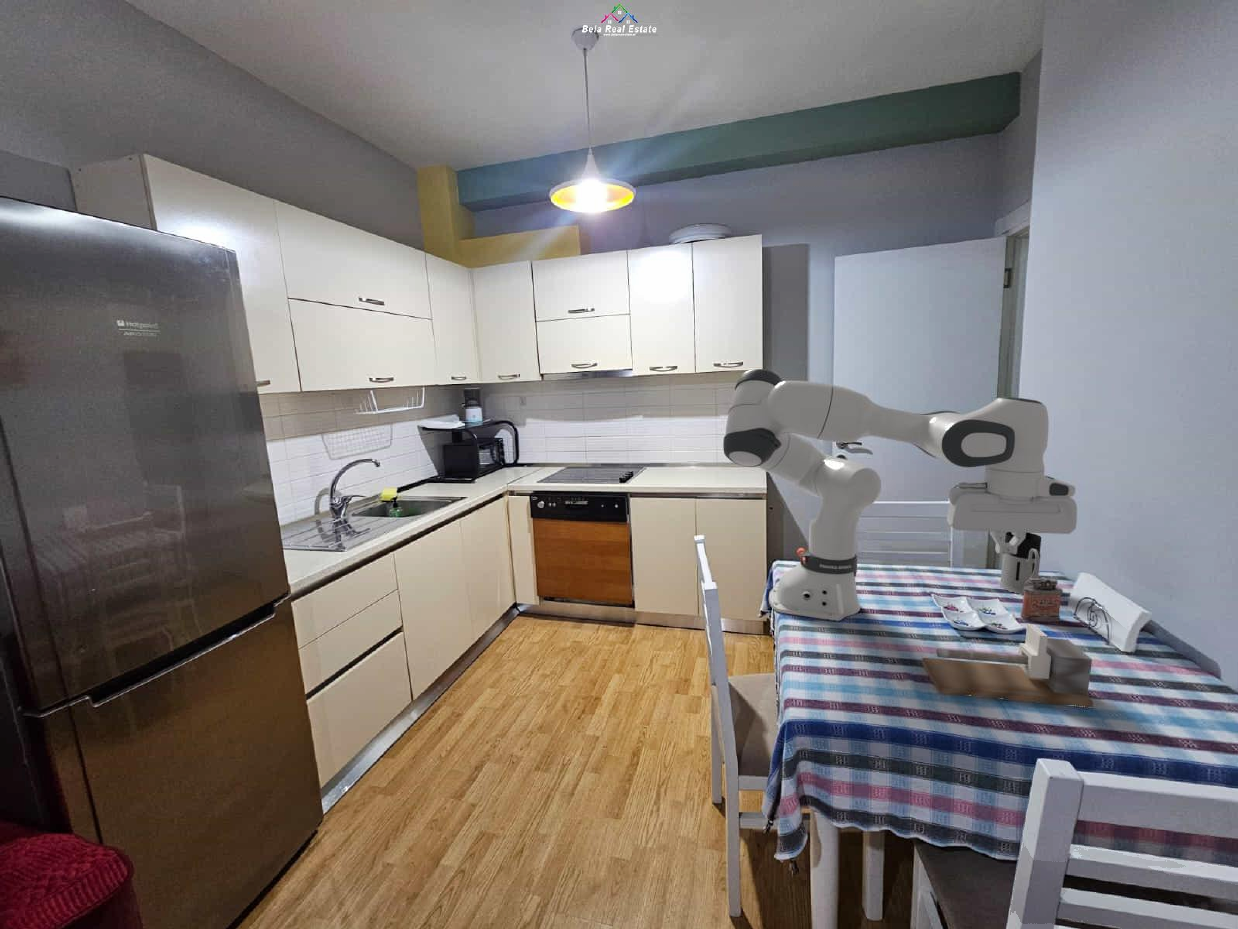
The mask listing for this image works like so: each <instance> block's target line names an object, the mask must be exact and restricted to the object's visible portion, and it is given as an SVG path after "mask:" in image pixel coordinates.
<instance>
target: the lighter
mask: <svg viewBox="0 0 1238 929" xmlns="http://www.w3.org/2000/svg"><path fill="white" fill-rule="evenodd" d="M1058 582H1059V581H1058V580H1057V579H1054V578H1047V577H1044V576H1042V577H1040V578H1039V577H1038V578H1030V579H1028V584H1030V585H1033V586H1024V587H1023V591H1024V595H1022V597H1023V598H1022V608H1021V612H1020V618H1021V619H1023V620H1025V621H1033V622H1035V621H1036V622H1055V621H1059V620H1060V619H1061V618H1060V617H1061V616H1060V610H1061V609H1060V608H1061V598H1062V594H1063V589H1062V588H1061V587H1059V586H1058Z"/></svg>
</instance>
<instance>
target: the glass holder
mask: <svg viewBox="0 0 1238 929" xmlns="http://www.w3.org/2000/svg"><path fill="white" fill-rule="evenodd" d="M1013 537H1014V535H1013V534H1012V532H1005V539H1004V543H1009V542H1010V541H1011V539H1012V538H1013ZM1041 546H1042V536H1040V535H1038V534H1037V533H1026V537H1025V539H1024V540H1023V541H1022V542H1021V543H1020V544H1019V546H1017V553H1016V554H1002V559H1001V560H1002V561H1001V562H1002V563H1001V572H1000V573H1001V574H1000V581H999V583H998V584H999V585H1000V587H1001V588H1003V589H1006V590H1008V591H1009V592H1008V593H1010V592H1016V593H1020V594H1024V591H1023V587H1024V586H1033V585H1030V584H1028V579H1030V578H1038V579H1039V573H1040V564H1041ZM1000 587H999V588H1000ZM1001 588H1000V589H1001ZM1003 589H1002V590H1003Z"/></svg>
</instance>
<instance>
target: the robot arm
mask: <svg viewBox="0 0 1238 929" xmlns="http://www.w3.org/2000/svg"><path fill="white" fill-rule="evenodd" d="M1048 412H1049V411H1048V410H1047V407H1046V405H1045V404H1044V403H1042V402H1040V401H1039V400H1035V399H1031V398H1030V399H1029V398H1023V397H1014V396H1001V397H1000V396H999V397H997V398H996V399H994V401H992V402H991V403H988V404H987V405H985V406H984V407H983V406H982V407H981V408H979V409H977V410H974V411H971V412H968V413H963V414H962V413H959V412H956V411H953V410H937V411H934V412H932V411H931V412H928V413H916V412H915V413H914V412H910V411H905V410H900V409H893V408H889V407H886V406H885V407H884V406H881V405H879V404H878V403H875V402H873V401H872V400H871V399H870V398H869V397H868V396H867V395H865V394H862V393H861V392H858V391H856V390H852V389H850V388H847V387H843V386H839V385H835V384H829V383H824V382H817V381H810V380H809V381H808V380H807V381H806V380H783V379H782V378H781V377H780V376H779V375H778V374H776V373H775V372H773V371H771V370H769V369H764V368H753V369H750V370H746V371H744V372H743V373H742V374H741V375H740V377H739V378H738V380H737V382H736V384H735V386H734V392H733V395H732V398H731V402H730V405H729V409H728V412H727V415H728V416H727V421H726V427H725V435H724V437H723V445H722V446H723V454H724V455H725V457H726V458H727V459H729V461H730V462H732V463H734V464H736V465H739V466H743V467H750V468H752V467H753V468H754V467H757V468H759V469H761V470H763V471H765V472H767V473H768V474H771V475H773V476H774V477H778V478H779V479H781V480H783V481H786V482H788V483H789V484H791V485H792V486H794V487H796V488H797V489H799V490H801V491H803V492H804V493H806V494H809V495H811V496H813V497H816V498H819V499H822V503H821V508H820V511H819V514H818V515H817V516H814V517H813V518H812V519H811V520H810V522H809V531H808V532H809V533H808V534H809V535H808V549H806V550H805V548H803V547H800V548H798V549H797V551H796V552H797V555H798V557H800V559H799V560H800V563H799V564H796V565H795V566H794V567H791V568H790V569H789V570H787V571H785V572H784V573H782V575H781V576H780V577H779V581H778V584H777V586H776V587H773V588H772V589H771V590H770V591H769V593H768V594H769V595H768V602H769V605H770V607H771V608H772V609H773V610H774V611H776V612H778V613H782V614H789V615H796V616H803V617H809V618H815V619H823V620H827V619H828V620H829V621H834V620H835V622H839V621H841V620H843V619H844V618H845V617H848V616H852V615H853V616H854V615H855V614H857V613H858V612H859V611H860V610H861V604H860V601H859V598H858V593H857V592H858V590H857V583H856V576H857V573H858V555H857V554H856V548H857V547H856V545H857V544H856V543H857V532H858V525H859V522H860V519H861V517H862V514H863V513H864V511H865V509H867V508H868V507H869V506H871V505H872V504H874V503H875V502H876V500H878V498H879V496H880V494H881V491H882V490H881V489H882V480H881V478H880V475H879V473H878V472H877V471H875V469H872V468H871V467H869V466H867V465H865V464H864V463H861V462H858V461H855V460H850V459H845V458H842V457H841V458H840V457H836V456H834V455H833V456H832V455H829V454H826V453H824V452H822V451H821V450H819V449H818V448H816V447H815V446H814V444H813V443H812V442H811V441H810V440H807V439H805V438H803V437H802V436H804V437H807V438H811V439H814V440H815V439H816V440H819V441H825V442H834V443H854V442H857V441H859V440H860V439H862V438H866V437H873V438H874V437H875V438H882V439H887V440H891V441H892V440H893V441H897V442H902V443H907V444H910V445H913V446H915V448H918V449H919V450H921V451H922V452H923V453H924V454H926V455H928V456H930V457H932V458H935V459H939V460H941V461H944V462H946V463H949V464H950V465H953V466H956V467H959V468H975V467H976V468H977V467H984V479H983V482H965V481H964V482H959V483H958V484H955V485H953V486H952V487H951V488H950V490H949V497H948V499H949V505H948V506H949V507H948V511H947V516H946V522H947V524H948V525H949V526H950V527H951V528H952V529H954V530H955V531H967V532H968V531H969V532H971V531H972V532H973V531H974V532H989V535H990V537H991V538H992V539H993V541H994V543H995V548H994V550H995V552H996V553H997V554H1001V555H1003V554H1016V553H1017V546H1019V544H1020V543H1021V542H1022V541H1023V540H1024V539H1025V537H1026V533H1032V534H1053V535H1054V534H1055V535H1056V534H1057V535H1058V534H1059V535H1061V534H1062V535H1064V534H1065V535H1071V533H1073V532H1074V531H1075V530H1076V528H1077V520H1078V508H1077V503H1076V501H1075V500H1074V498H1072V497H1073V496H1074V495H1075V493H1076V487H1075V485H1072V484H1070V483H1068V482H1065V481H1062V480H1060V479H1056V478H1054V477H1051V476H1049V475H1045V463H1044V454H1045V452H1046V449H1047V448H1048V439H1049V427H1050V426H1049V424H1050V423H1049V422H1050V421H1049V413H1048ZM1007 532H1012V534H1013V535H1014V537H1013V538H1012V539H1011V541H1010V542H1009V543H1005V542H1003V541H1002V539H1001V538H1003V537H1004V534H1005V533H1007Z"/></svg>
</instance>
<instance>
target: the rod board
mask: <svg viewBox="0 0 1238 929" xmlns="http://www.w3.org/2000/svg"><path fill="white" fill-rule="evenodd" d="M935 652H936V657H938V658H934V657H933V658H932V657H922V658H921V659H922V662H921V665H922V666H923V669H924V670H925V672H926V674H927V675H928V677H929V678H930V680H931V682H932V683H933V684H934V687H935V688H936V690H937V692H938V691H939V692H938V693H939V694H941V693H942V695H951V694H953V696H961V695H971V696H970V697H972V696H980V697H979V698H982V697H989V698H988V699H992V698H1003V699H1010V700H1009V701H1013V700H1018V701H1017V702H1023V701H1026V702H1025V703H1033V702H1039V703H1038V704H1043V703H1045V705H1046V704H1047V705H1053V706H1054V705H1055V706H1064V705H1074V706H1075V705H1076V706H1083V707H1082V708H1084V706H1085V707H1092V708H1093V702H1094V700H1093V699H1092V698H1091V697H1090V696H1089V695H1088V694H1089V685H1090V679H1091V670H1092V663H1093V658H1091V657H1089V656H1088V655H1087V653H1085V652H1084V651H1082V649H1081V648H1079V647H1078V646H1077V645H1076V644H1075V643H1073V642H1072V641H1070V640H1069V639H1068V638H1067V639H1066V638H1050V637H1047V646H1046V652H1047V653H1048V654H1049V655H1050V656H1051V663H1050V672H1049V679H1044V678H1033V677H1029V676H1028V675H1027V674H1026V673H1025V672H1024V671H1023V669H1022V668H1021V667H1020V666H1019V665H1018V664H1026V665H1028V658H1029V657H1028V656H1026V655H1019V654H1011V653H999V652H998V653H997V652H985V651H974V650H973V651H972V650H961V649H947V648H936V651H935ZM954 694H955V695H954ZM981 696H982V697H981ZM1074 706H1073V707H1074Z"/></svg>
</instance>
